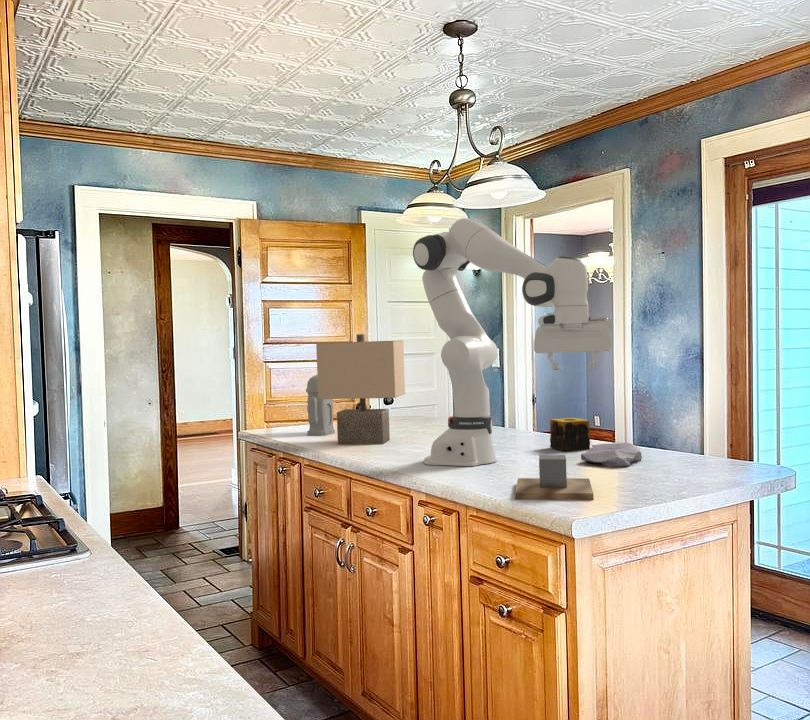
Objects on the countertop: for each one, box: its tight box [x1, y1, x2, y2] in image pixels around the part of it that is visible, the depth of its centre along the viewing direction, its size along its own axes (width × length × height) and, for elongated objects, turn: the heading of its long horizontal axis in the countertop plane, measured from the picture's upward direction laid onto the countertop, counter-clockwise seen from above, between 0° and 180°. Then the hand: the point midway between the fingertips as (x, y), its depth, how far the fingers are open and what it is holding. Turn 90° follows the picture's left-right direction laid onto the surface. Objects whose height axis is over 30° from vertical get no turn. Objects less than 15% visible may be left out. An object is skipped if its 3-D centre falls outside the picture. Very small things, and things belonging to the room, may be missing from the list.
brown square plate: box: [514, 477, 595, 501], centre depth 182 cm, size 18×18×6 cm
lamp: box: [315, 333, 406, 445], centre depth 281 cm, size 29×18×41 cm, turn 79°
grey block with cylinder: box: [538, 454, 568, 488], centre depth 183 cm, size 6×9×7 cm
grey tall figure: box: [305, 374, 336, 437], centre depth 311 cm, size 15×10×25 cm
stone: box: [580, 442, 643, 468], centre depth 222 cm, size 20×15×5 cm
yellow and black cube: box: [549, 417, 591, 453], centre depth 249 cm, size 10×10×10 cm
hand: (573, 369), depth 196 cm, fingers open, 8 cm apart
